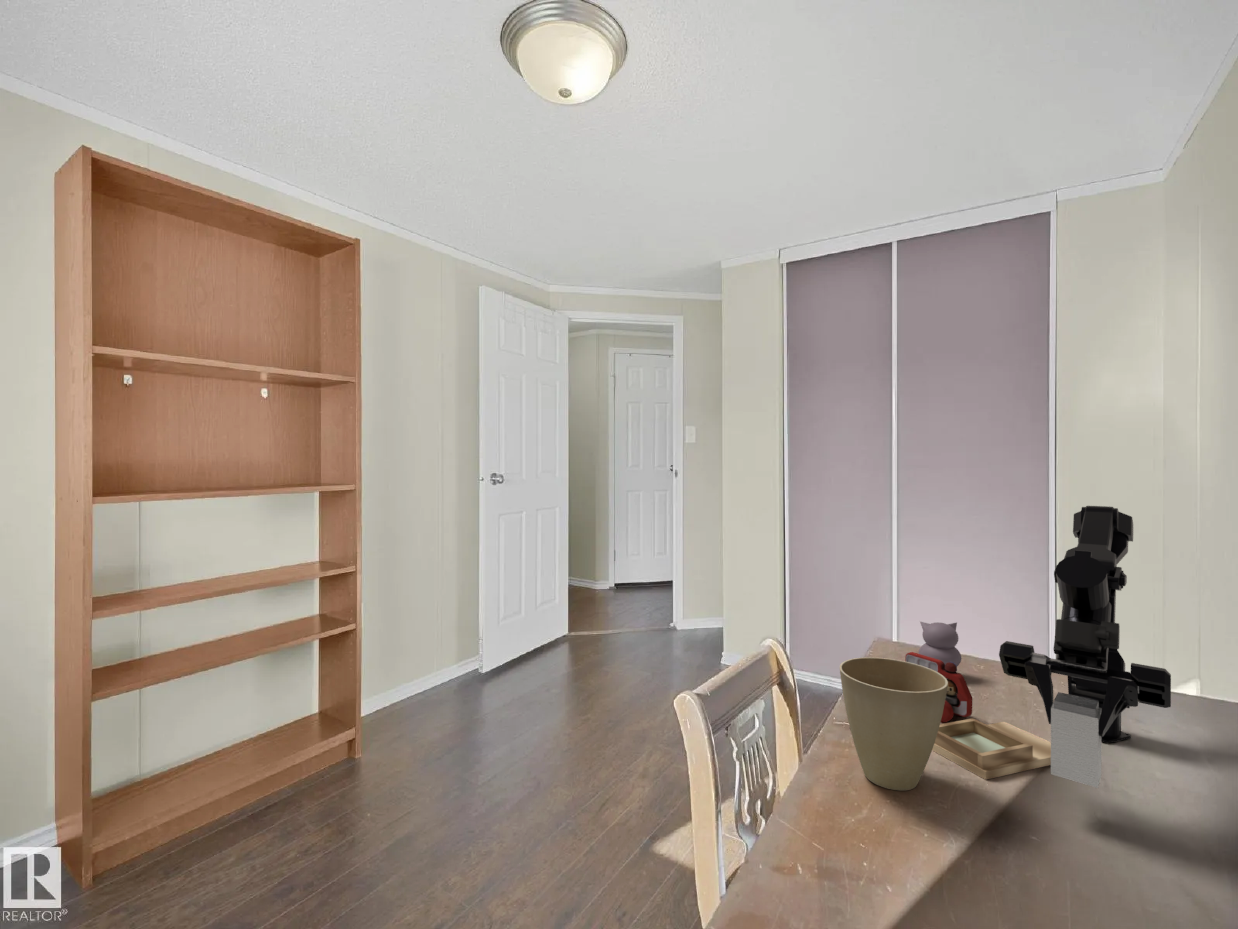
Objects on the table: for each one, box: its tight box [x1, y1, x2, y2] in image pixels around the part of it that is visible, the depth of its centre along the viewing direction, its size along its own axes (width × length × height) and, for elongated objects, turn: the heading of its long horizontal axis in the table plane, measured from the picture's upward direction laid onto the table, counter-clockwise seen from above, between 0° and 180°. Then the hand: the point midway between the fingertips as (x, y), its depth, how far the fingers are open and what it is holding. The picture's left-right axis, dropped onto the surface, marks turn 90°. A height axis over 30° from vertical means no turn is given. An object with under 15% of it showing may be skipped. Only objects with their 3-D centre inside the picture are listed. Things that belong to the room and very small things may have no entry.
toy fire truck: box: [904, 651, 973, 724], centre depth 114 cm, size 7×12×10 cm, turn 32°
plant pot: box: [839, 656, 948, 792], centre depth 90 cm, size 15×15×16 cm
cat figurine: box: [918, 621, 962, 679], centre depth 134 cm, size 8×8×12 cm
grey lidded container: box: [1050, 691, 1102, 789], centre depth 80 cm, size 4×5×10 cm
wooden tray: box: [932, 717, 1051, 781], centre depth 99 cm, size 19×12×3 cm, turn 109°
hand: (1074, 728), depth 79 cm, fingers closed on grey lidded container, 5 cm apart
